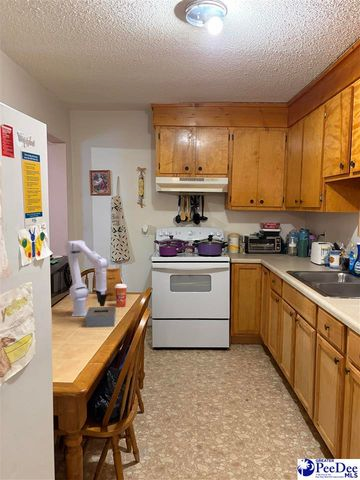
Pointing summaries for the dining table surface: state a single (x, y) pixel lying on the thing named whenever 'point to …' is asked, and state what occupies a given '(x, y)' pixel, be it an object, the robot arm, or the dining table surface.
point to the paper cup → (121, 295)
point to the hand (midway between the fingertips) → (101, 304)
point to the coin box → (100, 317)
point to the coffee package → (112, 283)
